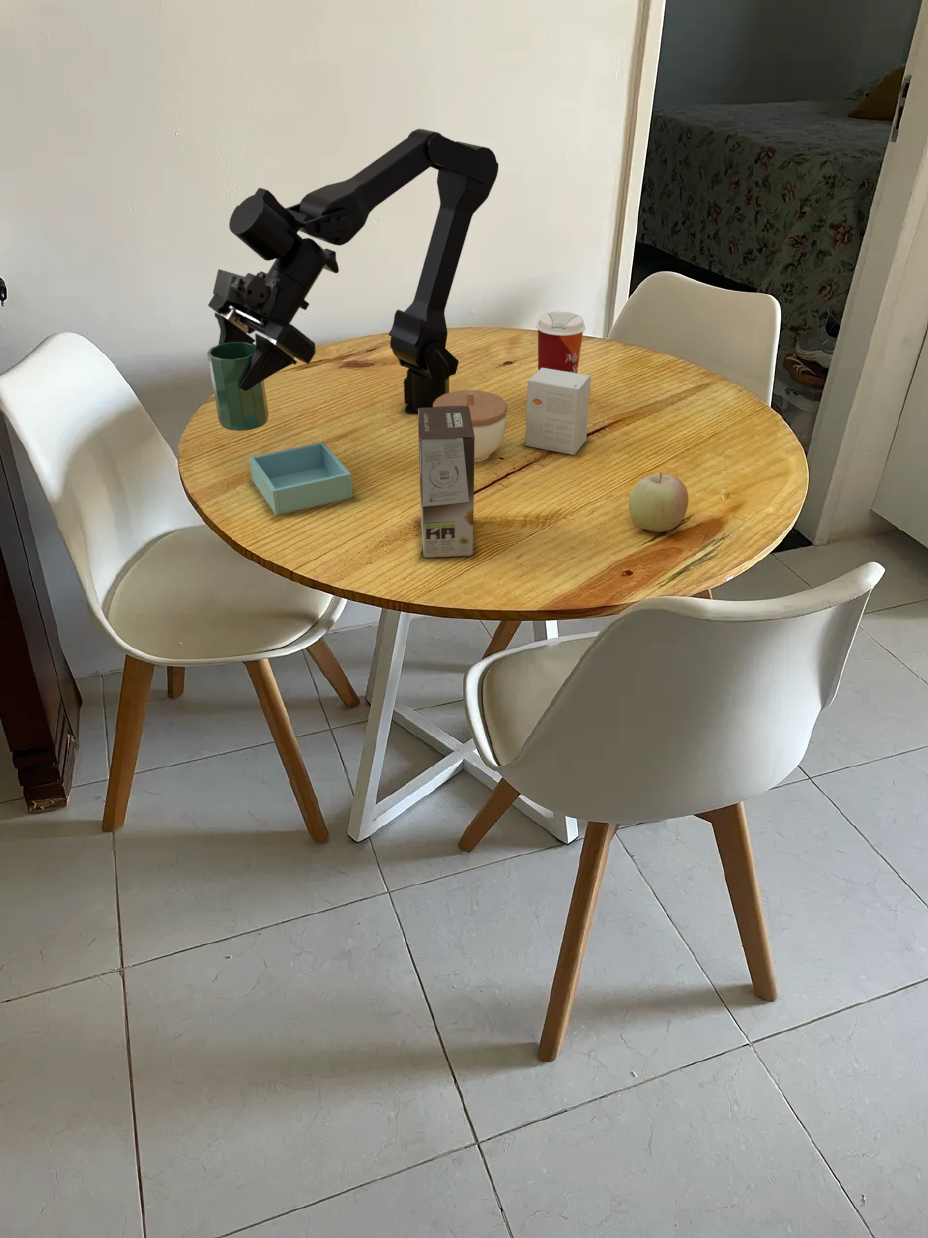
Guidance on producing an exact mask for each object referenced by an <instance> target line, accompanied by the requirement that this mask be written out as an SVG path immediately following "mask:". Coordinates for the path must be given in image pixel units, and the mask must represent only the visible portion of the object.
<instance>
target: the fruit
mask: <svg viewBox="0 0 928 1238" xmlns="http://www.w3.org/2000/svg"><path fill="white" fill-rule="evenodd" d="M688 506H689V491H688V489H687V486H686V485H685V483H684V482H683V481H682V479H680V478H679V477H677V476H674V475H672V474H665V473H663V472H662V471H661V472H659V473H658V474H651V475H647V476H645V477H643V478H641V479H639V480H638V481H637V482H636V483H635V484H634V486H633V488H632V489H631V491H630V494H629V497H628V511H629V515H630V518H631V519H632V521H633V522H634V524H635V525H636V526H638V527H639V528H641V529H642V530H646V531H651V532H655V533H662V532H669V531H671V530H673V529H675V528H676V527H678V526H679V525H680V523H681V522H682V521H683V520H684V518H685V516H686V513H687V512H688V511H687V510H688V508H689V507H688Z"/></svg>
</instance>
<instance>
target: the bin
mask: <svg viewBox="0 0 928 1238" xmlns="http://www.w3.org/2000/svg"><path fill="white" fill-rule="evenodd" d="M248 459H249V466H250V472H251V480H252V482H253V483H254V485H255V487H256V488H257V490H258V491H259V492H260V494H261V496H262V497H263V498H264V500H265V501H266V503H267V505H268V506H269V507H270V509H271V510H272V512H273V514H275V516H279V515H280V516H281V515H283V514H288V513H292V512H297V511H300V510H301V511H302V510H304V509H305V510H306V509H309V508H313V507H318V506H322V505H326V504H330V503H335V502H339V501H344V500H348V499H351V498H353V497H354V495H353V483H352V473H351V472H350V471H349V470H348V469H347V468H346V466H345V465H344V464H343V463H342V462H341V461H340V459H339V458H338V457H337V456H336V455H335V454H334V453H333V451H332V450H331V449H330V447H328V446H327V444H326V443H325V442H324V441H321V442H317V443H312V444H308V445H303V446H302V445H301V446H298V447H293V448H287V449H283V450H278V451H273V452H269V453H264V454H260V455H254V456H249V458H248Z"/></svg>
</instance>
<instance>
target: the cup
mask: <svg viewBox="0 0 928 1238" xmlns="http://www.w3.org/2000/svg"><path fill="white" fill-rule="evenodd" d="M218 344H219V343H218ZM218 344H216V345H214V346H212V347H210V348H209V350H208V351H207V352H206V354H207V361H208V366H209V372H210V379H211V384H212V390H213V395H214V400H215V407H216V412H217V419H218V421H219V424H220V426H221V427H222V428H224V429H226V430H229V431H236V432H243V431H244V432H245V431H251V430H255V429H259V428H261V427H263V426H265V424H267V422H268V421H269V410H268V401H267V394H266V387H265V380H263V381H261V382H260V383H258V384H257V385H255V386H253V387H252V388H250V389H249V390H247V391H244V390H242V389H241V388H240V387H239V385H240V382H241V380H242V378H243V375H244V373H245V371H246V369H247V367H248V365H249V363H250V361H251V359H252V357H253V355H254V353H255V351H256V343H255V344H254V343H253V344H252V343H248V342H228V343H223V344H219V345H218Z"/></svg>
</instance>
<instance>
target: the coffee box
mask: <svg viewBox="0 0 928 1238" xmlns="http://www.w3.org/2000/svg"><path fill="white" fill-rule="evenodd" d="M417 421H418V422H417V425H418V427H417V428H418V429H417V430H418V431H417V432H418V433H417V434H418V468H419V470H418V471H419V474H418V475H419V501H420V503H419V504H420V525H421V539H422V541H421V542H422V553H423V557H424V558H446V557H447V558H448V557H449V558H450V557H470V556H473V553H474V509H475V508H474V507H475V506H474V505H475V502H474V501H475V463H474V443H475V436H474V431H473V426H472V421H471V416H470V411H469V407H468V406H438V407H434V408H419V409H418V413H417Z"/></svg>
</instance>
